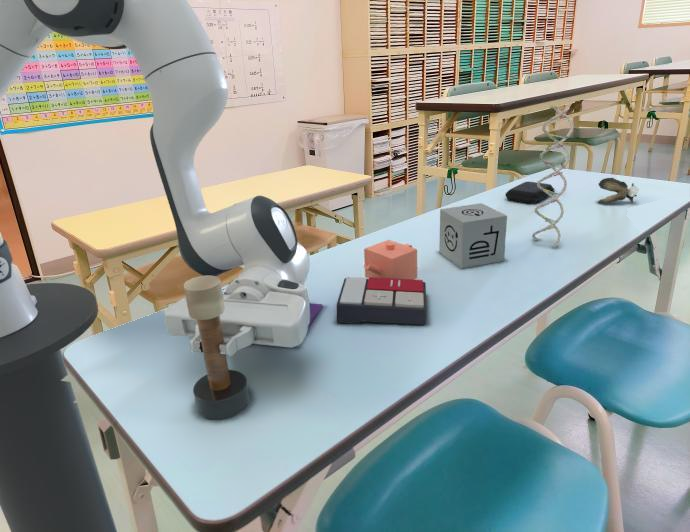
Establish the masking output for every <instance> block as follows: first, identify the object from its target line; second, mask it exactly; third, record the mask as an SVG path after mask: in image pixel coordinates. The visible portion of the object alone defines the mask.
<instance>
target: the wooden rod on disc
mask: <svg viewBox="0 0 690 532" xmlns="http://www.w3.org/2000/svg"><path fill="white" fill-rule="evenodd" d="M221 281H222V280H221V278H220V277H218V276H211V275H206V276H203V275H199V276H195V277H192V278H189V279H188V280H186V281H185V282H184V283H183V291H184V297H186V302H187V307H188V312H189V316H190V317H191V318H193V319H196V320H197V323H198V329H199V334H200V339H201V345H202V350H203V353H202V354H203V360H204V365H205V366H204V367H205V371H206V374H205V375H203V376H201V377H200V378H199V379H198V380H196V382H195V383H194V385H193V388H192V392H193V397H194V402H195V406H196V411H197V413H198V414H199V415H200V416H201V417H202V418H204V419H207V420H212V421H221V420H226V419H230V418H232V417H235V416H237V415H239V414H240V413H242V412H243V411H245V409H246V408H247V406H248V405H249V403H250V394H249V387H248V386H249V385H248V380H247V377H246V375H245V374H243V373H242V372H241V371H238V370H236V369H229V363H228V358H227V357H228V356H226V355H221V354H220V351H221V350H220V349H219V344H220V342H222V341H223V333H222V327H221V321H220V315H221V314H222V313H223V312H224V311H225V305H224V299H223V294H224V292H223V288H222V282H221Z"/></svg>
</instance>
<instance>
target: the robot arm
mask: <svg viewBox="0 0 690 532" xmlns="http://www.w3.org/2000/svg"><path fill="white" fill-rule="evenodd" d="M53 33H57V34H58V35H62V36H66V37H68V38H69V39H72V40H74V41H76V42H79V43H82V44H84V45H89V46H96V47H101V48H104V49H108V50H122V49H123V50H124V49H128V50H129V51H130V53H131V54H132V56H133V58H134V60H135V61H136V63H137V65H138V67H139V70H140V73H141V75H142V76H143V80H144V81H145V83H146V86H147V89H148V91H149V94H150V99H151V104H152V113H153V116H152V117H153V120H152V121H153V122H152V125H151V127H150V129H149V139H150V145H151V149H152V152H153V153H152V154H153V157H154V160H155V164H156V167H157V170H158V173H159V176H160V180H161V183H162V186H163V190H164V192H165V193H164V194H165V196H166V199H167V203H168V205H169V208H170V212H171V215H172V218H173V221H174V224H175V225H174V226H175V228H176V229H175V230H176V236H177V243H178V249H179V250H178V251H179V253H180V256H181V258H182V261H184V263H185V264H186V265H187V267H189V269H191V270H192V271H194V272H195V273H197V274H199V275H200V276H206V275H211V276H216V277H218V276H220V275H222V274H224V273H227V272H229V271H231V270H233V269H235V268H239V267H241V266H244V268H243V271H242V272H241V273H239V275H237V276H236V277H235V278H234V279H233V280H232V281H231V282H230V283H229V284H228V285H227V287H226V288H225V289H224V290H225V291H224V292H223V299H224V305H225V311H224V312H223V313H222V314H221V315H220V321H221V327H222V333H223V341H222V342H220V344H219V349H220V350H221V351H220V354H221V355H226V357H233V356H234V354H236V352H237V351H239V350H242V349H244V348H246V347H247V348H248V347H250V346H251V345H252V344H254V345H264V346H272V347H280V348H281V347H282V348H290V349H291V348H294V347H295V346H297V347H298V346H300V345H301V344H302V343H303V342H304V340H305V339H306V336H307V335H308V331H309V329H308V325H309V323H310V304H309V303H310V297H309V291H308V288H307V286H306V285H305V284H306V281H307V278H308V276H309V272H310V265H311V263H310V257H309V254H308V252H307V249H306V248H305V247H304V246H303V245H302V244H301V243H300V242H298V237H297V232H296V230H295V226H294V224H293V221H292V220H291V217H290V216H289V214H288V212H287V211H286V209H284V208H283V207H282V206H281V205H279V203H277V202H276V201H275V200H273V199H271V198H269V197H266V196H264V195H256V196H254V197H250V198H248V199H244V200H242V201H239V202H237V203H234V204H232V205H230V206H228V207H225V208H221V209H219V210H216V211H213V212H210V211H209V210H208V209H207V207H206V202H205V199H204V196H203V193H202V189H201V186H200V182H199V179H198V176H197V172H196V170H195V156H196V151H197V149H198V147H199V146H200V143H201V142H202V141H203V139H204V138H205V137H206V135H207V134H208V133H209V132H210V131H211V130H212V129H213V128H214V126H215V125H216V124H217V123H218V121H219V120H220V118H221V117H222V114H223V113H224V111H225V109H226V106H227V102H228V99H229V98H228V97H229V87H228V82H227V78H226V75H225V72H224V70H223V66H222V64H221V62H220V60H219V57H218V55H217V53H216V51H215V48H214V47H213V44H212V42H211V39H210V38H209V36H208V34H207V32H206V30H205V28H204V26H203V24H202V22H201V21H200V19H199V17H198V16H197V14H196V12H195V10H194V8H192V6H191V4H190V3H189V2H188V0H0V103H1V102H2V100H3V98H4V96H5V95H6V93H7V92H8V90H9V89H10V87H11V86H12V84H13V83H14V82H15V80H17V78H18V76H20V74H21V72H22V71H23V69H24V68H25V67H26V65H27V64H28V63H29V61H30V60H31V58H32V57H33V56H34V54H35V53H36V51H37V50H38V48H39V47H40V46H41V44H42V43H43V42H44V40H45V39H46V38H47V37H48V36H50V35H51V34H53ZM11 253H12V252H11V248H10V247H9V244H8V242H7V241H6V240H5V239H3V236H2V232H1V231H0V338H1V337H4V336H6V335H9V334H11V333H13V332H15V331H18V330H19V329H21V328H23V327H25V326H26V325H28V324H29V323H30V322H32V321H33V320H34V319H35V318H36V316H37V314H38V310H37V309H36V307H35V305H36V303H37V300H36V298H35V296H31V295H30V293H29V291H28V289H27V286H26V285H27V284H26V282H25V279H24V278H23V275H22V273H21V271H20V269H19V267H18V266H17V265H16V264H14V263H13V259H14V258H13V255H12V254H11ZM163 318H164V319H163V320H164V324H165V327H166V330H167V333H168V334H169V335H170V336H177V337H185V338H186V337H187V338H191V339H190V341H189V347H190V351H191V353H200V354H203V350H202V345H201V339H200V334H199V329H198V323H197V320H196V319H193V318H191V317H190V316H189V312H188V307H187V302H186V297H185V296H184V297H183V298H181V299H179V300H178V301H176V302H175V303H173V304H171V305H170V306H169V307H167V308H166V309H165V310H164V314H163Z"/></svg>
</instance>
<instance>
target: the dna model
mask: <svg viewBox="0 0 690 532" xmlns="http://www.w3.org/2000/svg"><path fill="white" fill-rule="evenodd" d="M549 107H550V108H551V109H553V110H554V111H555V112H557V114H555V116H553V117H550V118H549V119H548V120H547V121H545V122H544V123H543V124H542V129H541V130H542V132H543V133H544V134H545V135H546V136H547V137H549V139H551V140H553V143H554V144H553V145H551V146H550V147H549V146H548V148H547V147H546V148H545V150H543V151H542V152H540V154H539V159H540V161H541V162H542V163H543V164H544V165H545V166H548V167H549V168H550V169H552V170H553V172H551V173H549V174H547V175H545V176H544V177H542V178H540V179H539V180H536V182H537V186H538V188H540V189H541V190H542V191H544V192H545V193H547V194H548V195H547V196H549V197H551V198H550V199H549V200H548V201H545V202H543V203H541V204H539V205H537V206H536V207H534V213H535V214H536V215H537V216H539V217H540V218H542V219H543V220H544V222H545V223H549V225H547V226H545V227H543V228H540V229H538V230H537V231H535V232H533V233H532V235H531V236H532V238H533V240H535V241H538V240H539V238H538V237H536V235H538V234H540V233H543V232H546V231H550V230H552V229H554V230H555V231H556V233H557V240H556V242H554V243H555V244H553V248H554V249H555V248H557V246H558V245H559V244H560V242H561V238H562V235H561V232H560V228H559V227H558V226H557V223H559V222H560V220H561V219H562V218H563V216H564V212H565V211H564V210H565V209H564V205H563V204H562V202H561V201H560V200H559V198H560V197H561V196H562V195H563V194H565V192H566V190H567V185H568V182H567V179H566V177H565V176H564V174H563V171H562V170H563V169H564V168H566V166H567V165H568V163H570V158H571V154H570V151H569V149H568V148H567V147H566V145H565V144H564V143H563V142H565V141H566V140H567V139H569V138H570V137H571V135H572V133H573V132H574V123H573V120H572V119H571V118H570V116H568V115H567V114H566V112H568V111H570V109H571V107H570V106H568V107H567V108H565V109H563V110H561V109H559V108H557V107H556V106H554V105H553V104H550V106H549ZM559 119H560V120H561V119H566V121H567V122H568V124H569V126H570V129H569V131H568V133H567V135H565V136H562V135H557V134H552V133H549V132H548V131H547V130H546V127H547V126H548V125H549V124H550V123H552V122H553V121H557V120H559ZM556 137H557V138H556ZM558 138H561V140H558ZM558 148H563V150H564V152H565V153H566V155H567V158H566V159H565V161H564V163H563V164H562V165H560V164H554V165H553V162H548V161H546V160H545V159H544V157H543V156H544V155H545V154H546V153H548V152H550V151H551V150H555V149H558ZM557 167H558V168H557ZM557 176H560V178H561V179H562V180H563V187H562V189H561V191H560V192H556V191H555V192H552V191H551V193H549V192H550V191H549V190H546V189H544V188H543V187H541V186H540V183H543V181H545V180H548V179H551V178H553V177H557ZM552 193H554V194H552ZM553 203H557V204H558V205H559V209H560V214H559V216H558V217H557V218H556V220H554V219H551V218H549V217H546V216H545V215H543V214H542V213H540V212H539V211H538V210H539V209H540V208H541V209H542V208H545V207H546V206H548V205H550V204H553Z"/></svg>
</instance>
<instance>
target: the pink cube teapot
mask: <svg viewBox="0 0 690 532" xmlns="http://www.w3.org/2000/svg"><path fill="white" fill-rule="evenodd" d="M363 257H364V265H363V268H364V278H366V279H369V278H370V277H374V278H393V279H412V280H417V278H418V249H417V248H414V247H413V245H412V244H410V243H404V244H403V243H399V242H397V241H393V240H390V239H387V240H383V241H382V242H379V243H376V244H373V245H371V246H368V247H365V248H363Z"/></svg>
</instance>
